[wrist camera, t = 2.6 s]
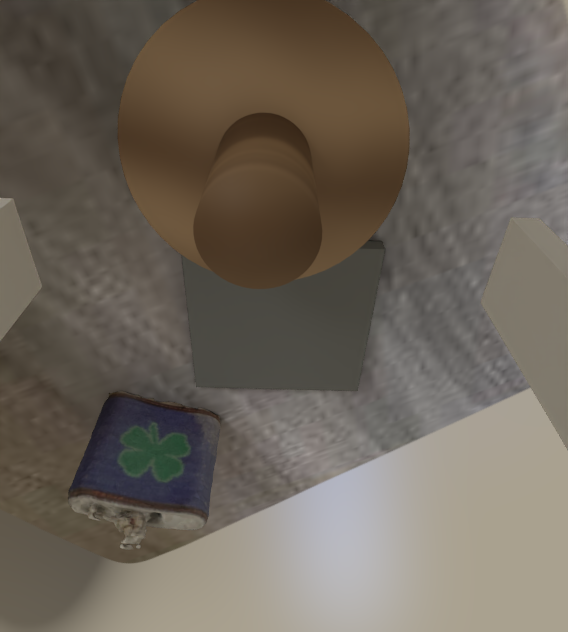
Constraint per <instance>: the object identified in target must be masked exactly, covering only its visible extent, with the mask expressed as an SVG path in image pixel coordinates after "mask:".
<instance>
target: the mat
mask: <svg viewBox="0 0 568 632" xmlns="http://www.w3.org/2000/svg"><path fill="white" fill-rule="evenodd" d="M384 253H385V247H384V245H383V242H382V241H367V242H366V243H365V244H364V245H363V246H362V247H360V248H359V249H358V250H357V251H356V252H354V253H353V254H352V255H350V256H349V257H347V258H346V259H344V260H343V261H341V262H340V263H338V264H336V265H334V266H332V267H330V268H329V269H327V270H325V271H322V272H319V273H317V274H314V275H311V276H308V277H304V278H300V279H296V280H293V281H291V282H290V283H288V284H285V285H282V286H279V287H275V288H269V289H250V288H245V287H241V286H237V285H234V284H232V283H230V282H228V281H226V280H224V279H222V278H221V277H219V276H218V275H217V274H215V273H214V272H212V271H210V270H208V269H205V268H203V267H201V266H199V265H197V264H196V263H194V262H192V261H191V260H189V259H187V258H186V257H184V256H183V255H182V254H181V256H182V265H183V274H184V283H185V292H186V301H187V310H188V319H189V328H190V337H191V346H192V355H193V364H194V373H195V382H196V387H214V388H255V389H296V390H336V391H358V386H359V380H360V375H361V370H362V365H363V360H364V355H365V350H366V345H367V340H368V335H369V330H370V324H371V319H372V314H373V309H374V304H375V299H376V294H377V289H378V284H379V279H380V274H381V269H382V263H383V258H384Z"/></svg>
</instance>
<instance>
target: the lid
mask: <svg viewBox="0 0 568 632" xmlns="http://www.w3.org/2000/svg"><path fill="white" fill-rule="evenodd" d="M118 145H119V154H120V160H121V164H122V168H123V172H124V176H125V178H126V181H127V184H128V186H129V189H130V192H131V194H132V196H133V198H134V200H135V202H136V203H137V205H138V207H139V209H140V211H141V212H142V214H143V215H144V216H145V218H146V219H147V221H148V222H149V224H150V225H151V226H152V227H153V228H154V230H155V231H156V232H157V233H158V234H159V235H160V237H161V238H163V239H164V240H165V241H166V242H167V243H168V244H169V245H170V246H171V247H172V248H173V249H175V250H176V251H178V252H179V253H180V254H182V255H183V256H184V257H186V258H187V259H189V260H191V261H192V262H194V263H196V264H197V265H199V266H201V267H203V268H205V269H208V270H210V271H212V272H214V273H215V274H217V275H218V276H219V277H221V278H222V279H224V280H226V281H228V282H230V283H232V284H234V285H237V286H241V287H245V288H250V289H269V288H275V287H279V286H282V285H285V284H288V283H290V282H291V281H293V280H296V279H300V278H304V277H308V276H311V275H314V274H317V273H319V272H322V271H325V270H327V269H329V268H330V267H332V266H334V265H336V264H338V263H340V262H341V261H343V260H344V259H346V258H347V257H349V256H350V255H352V254H353V253H354V252H356V251H357V250H358V249H359V248H360V247H362V246H363V245H364V244H365V243H366V242H367V241H368V240H369V239H370V238H371V237H372V236H373V234H374V233H375V232H376V231H377V230H378V228H379V227H380V226H381V224H382V223H383V222H384V220H385V219H386V218H387V216H388V214H389V212H390V210H391V209H392V207H393V205H394V203H395V201H396V199H397V196H398V194H399V191H400V189H401V187H402V183H403V180H404V176H405V172H406V169H407V162H408V155H409V121H408V113H407V107H406V104H405V100H404V96H403V92H402V89H401V86H400V84H399V82H398V79H397V77H396V74H395V72H394V70H393V68H392V66H391V65H390V63H389V61H388V59H387V58H386V56H385V54H384V53H383V51H382V50H381V49H380V47H379V46H378V45H377V44H376V42H375V41H374V40H373V39H372V37H371V36H370V35H369V34H368V33H367V32H366V31H365V30H364V29H363V28H362V27H361V26H360V25H359V24H358V23H356V22H355V21H354V20H353V19H352V18H351V17H350V16H348V15H347V14H345V13H344V12H343V11H341V10H340V9H338V8H337V7H335V6H334V5H332V4H331V3H329V2H327V1H325V0H197V1H196V2H194V3H192V4H190V5H189V6H187V7H185V8H183V9H182V10H180V11H179V12H177V13H176V14H175V15H174V16H172V17H171V18H170V19H169V20H167V21H166V22H165V23H164V24H163V25H162V26H161V27H160V28H159V29H158V30H157V31H156V32H155V33H154V34H153V36H152V37H151V38H150V39H149V40H148V41H147V43H146V44H145V46H144V47H143V49H142V50H141V52H140V53H139V55H138V56H137V58H136V60H135V62H134V64H133V66H132V68H131V71H130V73H129V75H128V77H127V80H126V83H125V87H124V90H123V93H122V96H121V102H120V108H119V115H118Z"/></svg>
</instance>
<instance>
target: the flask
mask: <svg viewBox="0 0 568 632" xmlns="http://www.w3.org/2000/svg"><path fill="white" fill-rule="evenodd" d="M108 394H109V398H108V399H107V400H106V401H105V403H104V405H103V407H102V410H101V413H100V415H99V417H98V420H97V423H96V426H95V428H94V430H93V432H92V436H91V439H90V441H89V444H88V446H87V449H86V451H85V453H84V456H83V459H82V461H81V463H80V465H79V468H78V470H77V472H76V475H75V478H74V480H73V483H72V485H71V487H70V489H69V492H68V495H69V496H68V500H69V505H70V506H71V507H72V509H73V510H74V511H75V512H77V513H82V514H86V515H88V517H89V518H90V519H93V520H100V519H98V518H96V517H99V518H103V519H106V520H107V521H110V522H114V523H115V526H116V528H118V530H119V531H120V532H124V534H125V536H126V537H125V538H124V540H123V541H121V543H129V544H127V545H124V544H120V548H123V549H127V550H129V549H133V547H132V545H130V544H138V545H137V546H136V548H140V547H141V545H139V543H140V542H141V540H142V539H144V538H145V537H146V533H145V532H147V530H146V526H150V527H157V528H169V529H181V530H196V529H199V528H201V527H203V526H204V525H205V524H206V522H207V519H208V516H209V502H210V492H211V486H212V481H213V471H214V465H215V461H216V451H217V444H218V438H219V431H220V418H219V416H218V415H215V414H213V413H212V412H210V411H208V410H205V409H203V408H198V409H197V410H196V409H194V408H190V407H186V406H183V405H182V404H177V403H175V402H169V401H168V402H157V401H155V400H154V398H152V399H151V398H150V399H145V398H142V397H140V396H139V395H132V394H129V393H126V392H124V391H119V392H114V393H108Z"/></svg>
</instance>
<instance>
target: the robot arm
mask: <svg viewBox="0 0 568 632" xmlns="http://www.w3.org/2000/svg"><path fill="white" fill-rule="evenodd" d="M41 288H42V285H41V282H40V279H39V276H38V273H37V270H36V267H35V263H34V260H33V257H32V254H31V251H30V248H29V245H28V242H27V239H26V236H25V233H24V230H23V227H22V224H21V221H20V218H19V215H18V212H17V209H16V206H15V203H14V200H13V198H0V341H1V340H2V338H3V337H4V336H5V334H6V333H7V332H8V331H9V329H10V328H11V327H12V325H13V324H14V323H15V322H16V320H17V319H18V318H19V316H20V315H21V314H22V313H23V311H24V310H25V309H26V307H27V306H28V305H29V304H30V302H31V301H32V300H33V298H34V297H35V296H36V295H37V293H38V292H39V291H40V289H41ZM481 304H482V306H483V307H484V309H485V311H486V312H487V314H488V316H489V318H490V319H491V321H492V323H493V324H494V326H495V328H496V329H497V331H498V333H499V334H500V336H501V338H502V340H503V341H504V343H505V345H506V346H507V348H508V350H509V351H510V353H511V355H512V356H513V358H514V360H515V361H516V363H517V365H518V367H519V368H520V370H521V372H522V373H523V375H524V377H525V378H526V380H527V382H528V383H529V385H530V387H531V389H532V390H533V392H534V394H535V395H536V397H537V399H538V400H539V402H540V404H541V405H542V407H543V409H544V411H545V412H546V414H547V416H548V417H549V419H550V421H551V422H552V424H553V426H554V427H555V429H556V431H557V432H558V434H559V436H560V438H561V439H562V441H563V443H564V444H565V446H566V448H567V449H568V246H567V245H566V244H565V243H564V242H563V241H562V240H561V239H560V238H559V237H558V236H557V235H556V234H555V233H554V232H553V231H552V230H551V229H550V228H548V227H547V226H546V225H545V224H544V223H543V222H542V221H541V220H540V219H534V218H511V219H510V222H509V225H508V227H507V230H506V233H505V236H504V238H503V241H502V244H501V247H500V250H499V252H498V255H497V258H496V261H495V263H494V266H493V269H492V272H491V275H490V277H489V280H488V283H487V286H486V288H485V291H484V294H483V297H482V300H481Z"/></svg>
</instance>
